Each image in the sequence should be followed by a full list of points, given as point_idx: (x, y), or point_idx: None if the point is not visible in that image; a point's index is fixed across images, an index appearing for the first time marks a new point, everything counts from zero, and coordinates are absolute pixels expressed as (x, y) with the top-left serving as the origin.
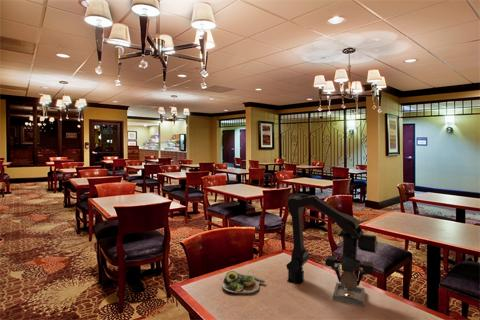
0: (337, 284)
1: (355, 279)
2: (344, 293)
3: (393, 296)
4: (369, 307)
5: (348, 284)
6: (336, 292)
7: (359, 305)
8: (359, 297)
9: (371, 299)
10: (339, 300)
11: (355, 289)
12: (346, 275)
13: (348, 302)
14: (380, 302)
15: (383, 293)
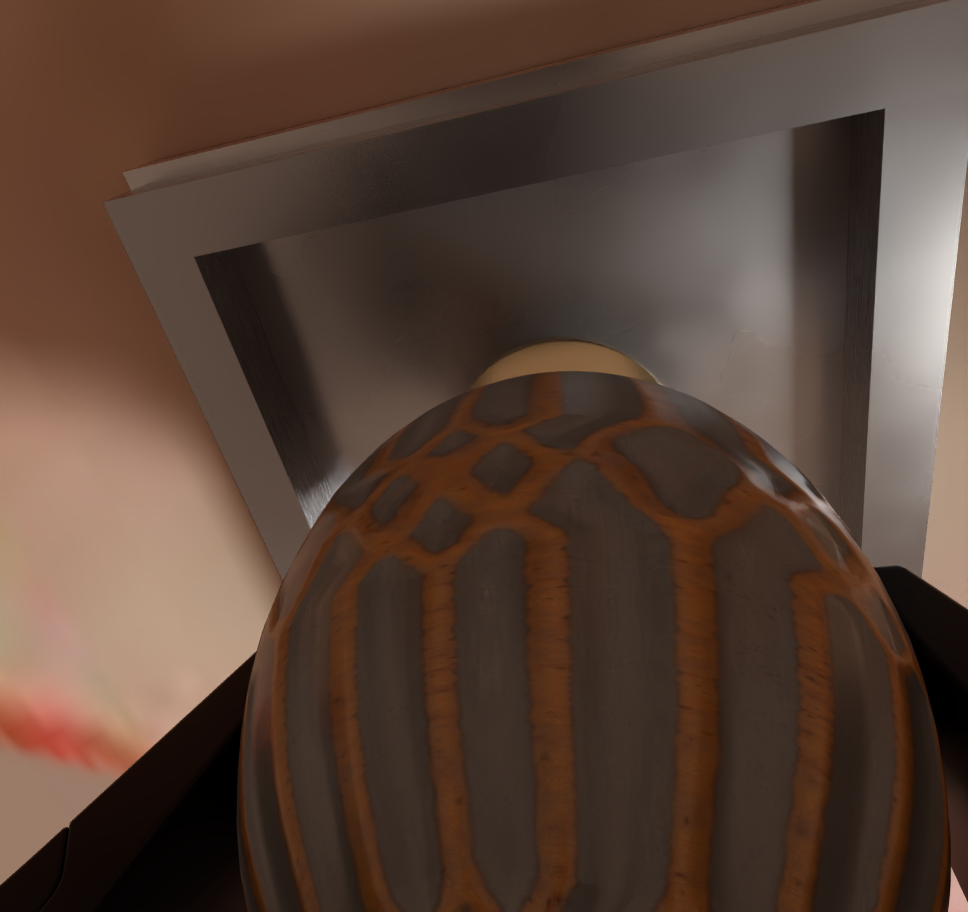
0: None
1: (239, 773)
2: None
3: (30, 736)
4: (65, 228)
5: (497, 448)
6: (866, 287)
7: (226, 144)
8: (337, 439)
9: (191, 527)
10: (719, 27)
11: None
12: (653, 871)
13: (475, 86)
14: (44, 514)
15: None
